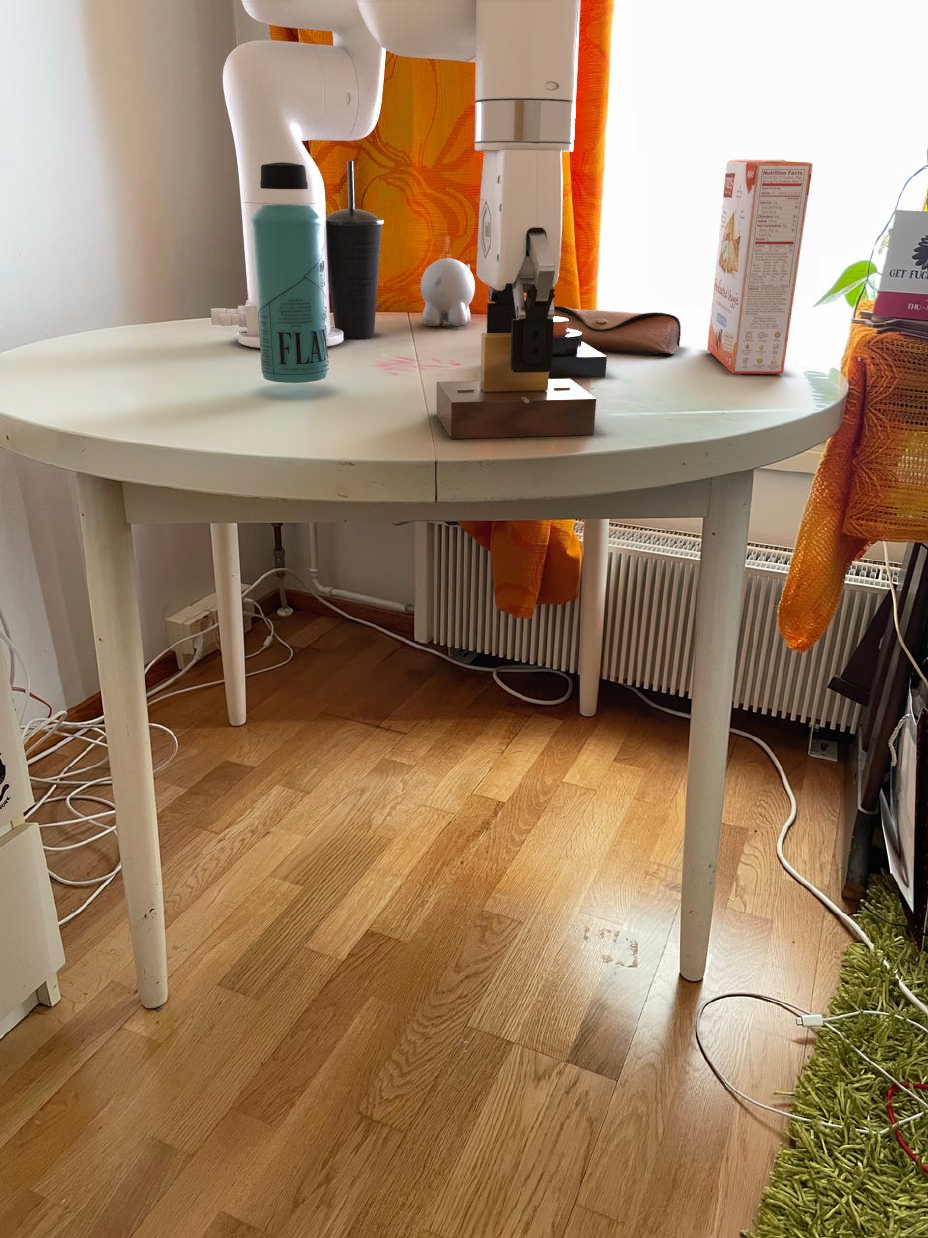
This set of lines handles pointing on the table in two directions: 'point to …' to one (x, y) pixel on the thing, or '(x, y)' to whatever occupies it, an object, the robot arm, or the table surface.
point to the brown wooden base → (515, 410)
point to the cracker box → (757, 263)
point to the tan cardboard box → (505, 367)
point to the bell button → (560, 326)
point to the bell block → (575, 358)
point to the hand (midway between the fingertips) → (517, 360)
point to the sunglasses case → (624, 330)
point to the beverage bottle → (289, 282)
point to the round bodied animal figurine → (447, 293)
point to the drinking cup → (353, 266)
